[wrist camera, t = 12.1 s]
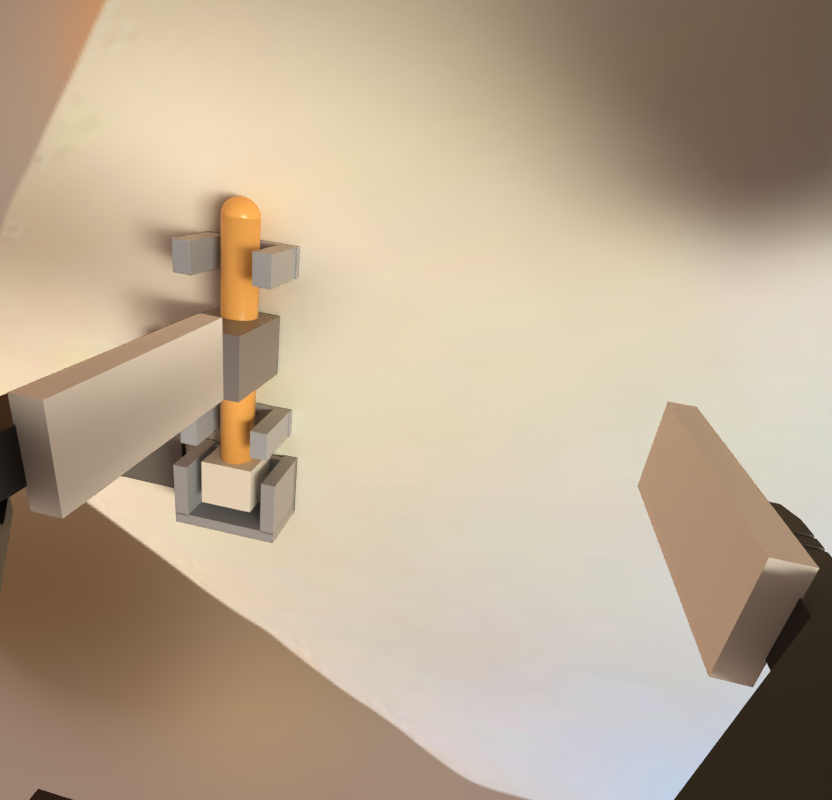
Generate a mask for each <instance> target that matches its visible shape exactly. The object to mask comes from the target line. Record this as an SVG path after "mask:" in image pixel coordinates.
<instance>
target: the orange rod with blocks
mask: <svg viewBox="0 0 832 800" xmlns="http://www.w3.org/2000/svg"><path fill="white" fill-rule="evenodd" d="M260 228H261V215H260V211H259V209H258V207H257V205H256V204H255V203H254V202H253V201H252V200H250V199H249V198H247V197H243V196H234V197H231V198H229V199H228V200H226V202H225V203H224V204H223V206H222V209H221V298H220V307H218V308H216V309H213V310H210V311H207V312H205V313H202V314H205V315H211V316H216V317H221V318H222V337H223V401H221V402H220V446H219V447H218V448H217V449H216V450H214V451H213V452H212V453H211V454H210V455H209V456H207V457H206V458H205V459H204V460H203V461H201V468H202V502H205V503H209V504H214V505H218V506H223V507H228V508H232V509H237V510H241V511H246V512H250V511H251V510H252V509H253V508H254V507H255V505H256V504H257V503H258V502H259V501H260V500H261V483H262V482H263V481H264V480H265V478H266V477H267V476H268V475H269V474H270V457H269V458H268V459H267V461H265V460H260V459H255V458H251V457H250V431H251V430H252V429H253V428H254V427H255V404H256V389H258V388H259V387H260V386H262V385H263V384H264V383H266V382H267V381H268V380H270V379H271V378H272V377H274V376H275V375H276V374H277V369H278V346H279V323H280V316H275V315H269V314H264V313H258V299H259V287H254V286H252V252H253V251H256V250H260Z"/></svg>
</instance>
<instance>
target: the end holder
mask: <svg viewBox="0 0 832 800" xmlns="http://www.w3.org/2000/svg"><path fill="white" fill-rule="evenodd" d="M219 446H220V444H218V443H217V441H213V440H208V439H205V440H204V441H202V442H201V443H200V444H199V445H198V446H195V447H194V448H193V449H192V450H190V451H189V452H188V453H187V454H186V455H184V456H183V457H182V458H181V459H180V460H178V461H177V462H176V463H175V464H174V465H173V470H174V489H175V507H176V521H178V522H182V523H186V524H191V525H195V526H199V527H204V528H208V529H213V530H217V531H221V532H226V533H230V534H235V535H239V536H243V537H248V538H252V539H257V540H261V541H265V542H270V543H273V542H274V541H275V539H276V538H277V536H278V535H279V533H280V532H281V530H282V529H283V527H284V526H285V524H286V523H287V521H288V520H289V518H290V517H291V515H292V514H293V512H294V510H295V491H296V472H297V458H294V457H289V456H284V457H280V456H276V455H271V456H270V474H269V475H268V476H267V477H266V478H265V480H264V481H263V482H262V483H261V500H260V501H259V502H258V503H257V504H256V505H255V507H254V508H253V509H252V510H251V511H250V512H246V511H241V510H237V509H232V508H228V507H223V506H218V505H214V504H209V503H205V502H202V468H201V461H203V460H204V459H205V458H206V457H207V456H209V455H210V454H211V453H212V452H213V451H214V450H216V449H217V448H218V447H219Z"/></svg>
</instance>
